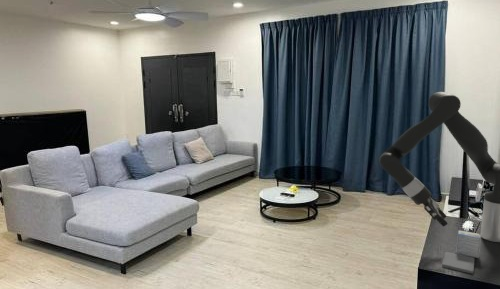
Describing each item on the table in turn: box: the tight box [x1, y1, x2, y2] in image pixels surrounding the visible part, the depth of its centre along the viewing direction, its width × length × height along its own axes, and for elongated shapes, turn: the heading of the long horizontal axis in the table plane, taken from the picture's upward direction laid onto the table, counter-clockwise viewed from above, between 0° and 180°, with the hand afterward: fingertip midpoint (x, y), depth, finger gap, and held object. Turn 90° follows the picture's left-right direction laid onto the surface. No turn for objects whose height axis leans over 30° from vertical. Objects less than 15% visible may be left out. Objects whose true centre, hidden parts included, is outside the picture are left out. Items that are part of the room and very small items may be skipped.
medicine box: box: [455, 230, 482, 259], centre depth 145 cm, size 8×4×9 cm, turn 59°
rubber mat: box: [441, 251, 476, 275], centre depth 138 cm, size 12×10×1 cm
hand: (445, 221), depth 147 cm, fingers open, 8 cm apart
